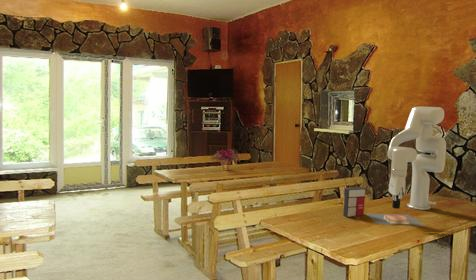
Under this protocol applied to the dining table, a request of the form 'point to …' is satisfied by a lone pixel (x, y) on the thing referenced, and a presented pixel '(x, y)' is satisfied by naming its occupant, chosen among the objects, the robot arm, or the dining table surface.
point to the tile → (397, 219)
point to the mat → (380, 217)
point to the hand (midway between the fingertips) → (395, 208)
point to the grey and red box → (354, 201)
